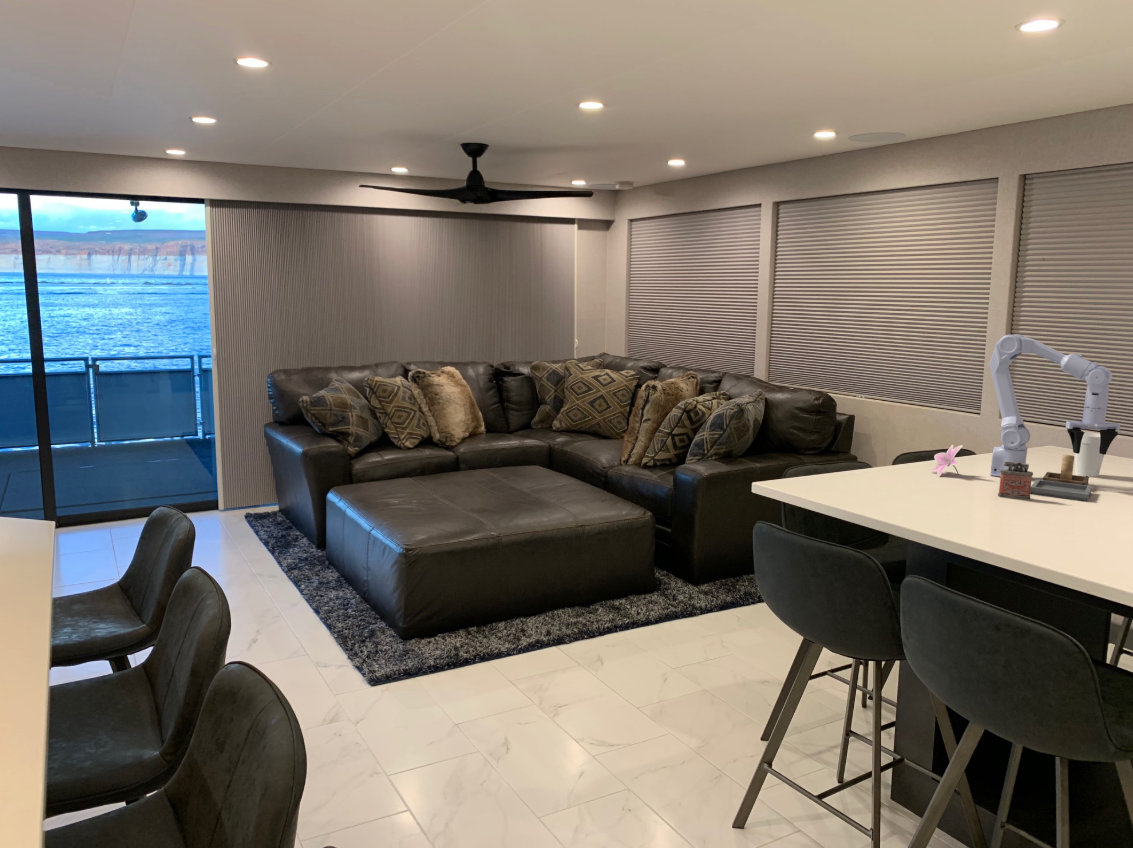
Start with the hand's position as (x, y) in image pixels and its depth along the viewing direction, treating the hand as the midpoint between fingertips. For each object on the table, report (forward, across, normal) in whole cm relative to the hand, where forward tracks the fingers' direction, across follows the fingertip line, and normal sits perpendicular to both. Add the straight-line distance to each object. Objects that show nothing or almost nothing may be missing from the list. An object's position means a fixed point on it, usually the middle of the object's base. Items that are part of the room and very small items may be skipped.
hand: (1089, 453), depth 254 cm
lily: (+11, -36, +12) cm, 40 cm away
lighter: (+10, -29, -18) cm, 36 cm away
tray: (+10, -13, -10) cm, 19 cm away
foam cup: (+10, +11, +19) cm, 25 cm away
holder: (+10, -5, +1) cm, 11 cm away
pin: (+10, -5, +1) cm, 11 cm away
